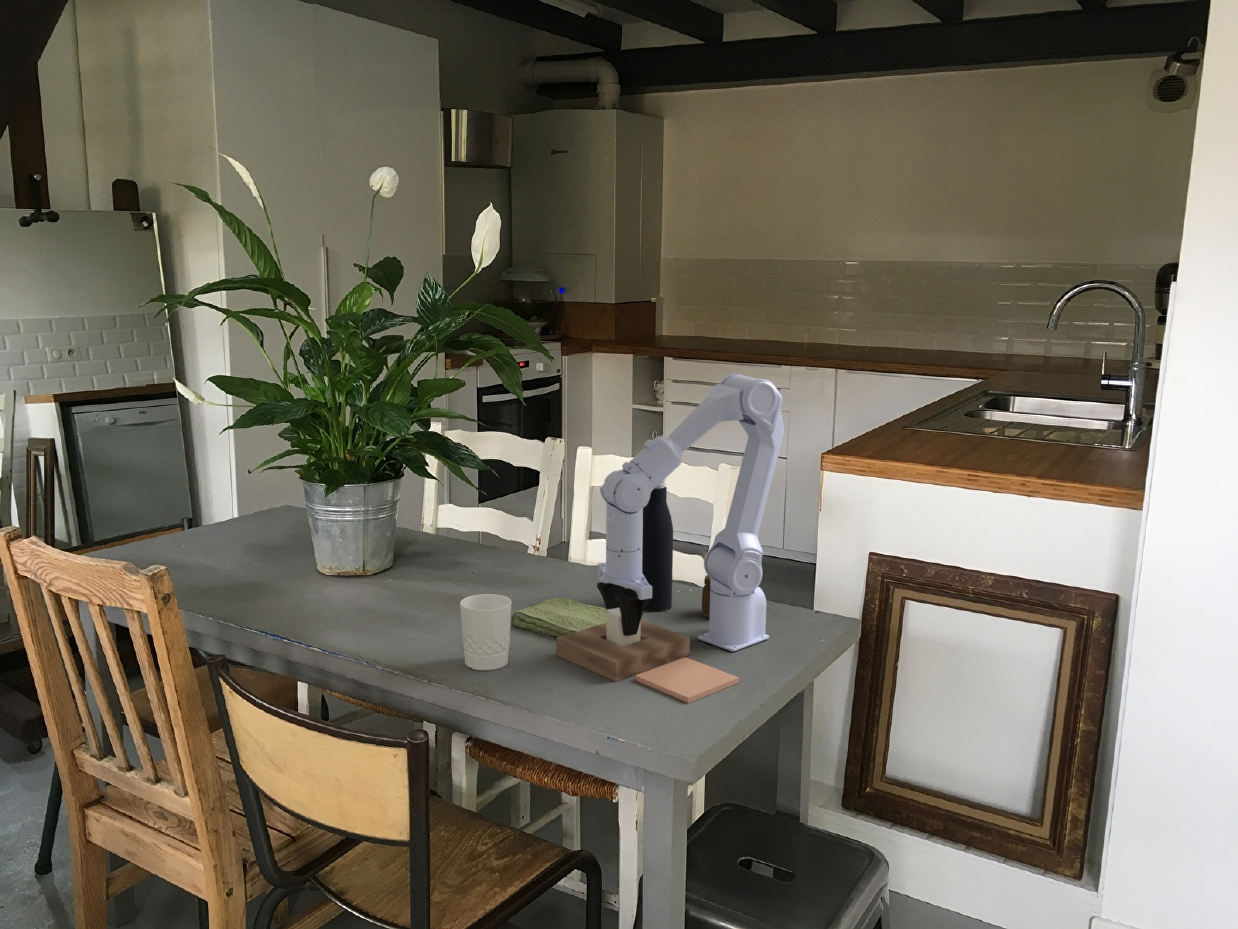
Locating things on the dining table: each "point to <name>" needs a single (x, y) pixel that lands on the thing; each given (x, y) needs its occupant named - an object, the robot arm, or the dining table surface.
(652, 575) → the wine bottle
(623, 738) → the dining table surface
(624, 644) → the plug
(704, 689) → the tile
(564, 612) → the washcloth
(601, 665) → the brown board with hole
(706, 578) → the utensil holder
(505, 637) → the white cup
